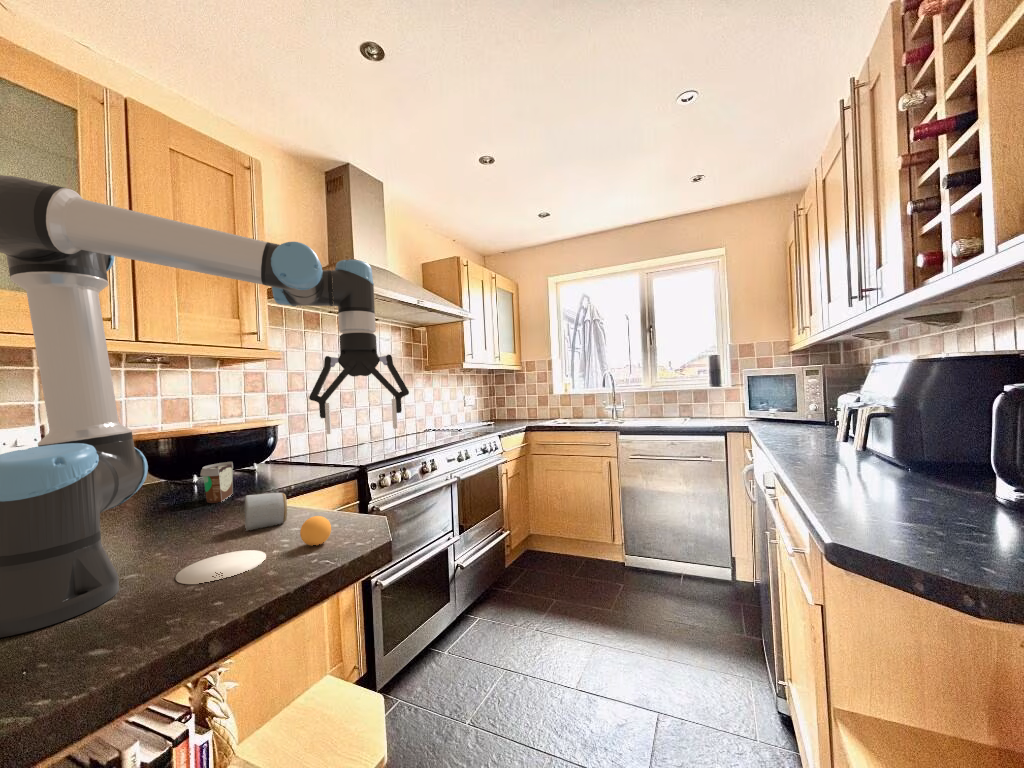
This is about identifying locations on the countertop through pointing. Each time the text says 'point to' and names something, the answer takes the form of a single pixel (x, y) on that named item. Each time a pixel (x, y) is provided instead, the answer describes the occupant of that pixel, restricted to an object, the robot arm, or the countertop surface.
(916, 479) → the countertop surface
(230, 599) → the countertop surface
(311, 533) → the ball
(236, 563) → the cream disc
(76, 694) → the countertop surface
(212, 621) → the countertop surface
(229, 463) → the food container
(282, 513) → the ceramic mug
